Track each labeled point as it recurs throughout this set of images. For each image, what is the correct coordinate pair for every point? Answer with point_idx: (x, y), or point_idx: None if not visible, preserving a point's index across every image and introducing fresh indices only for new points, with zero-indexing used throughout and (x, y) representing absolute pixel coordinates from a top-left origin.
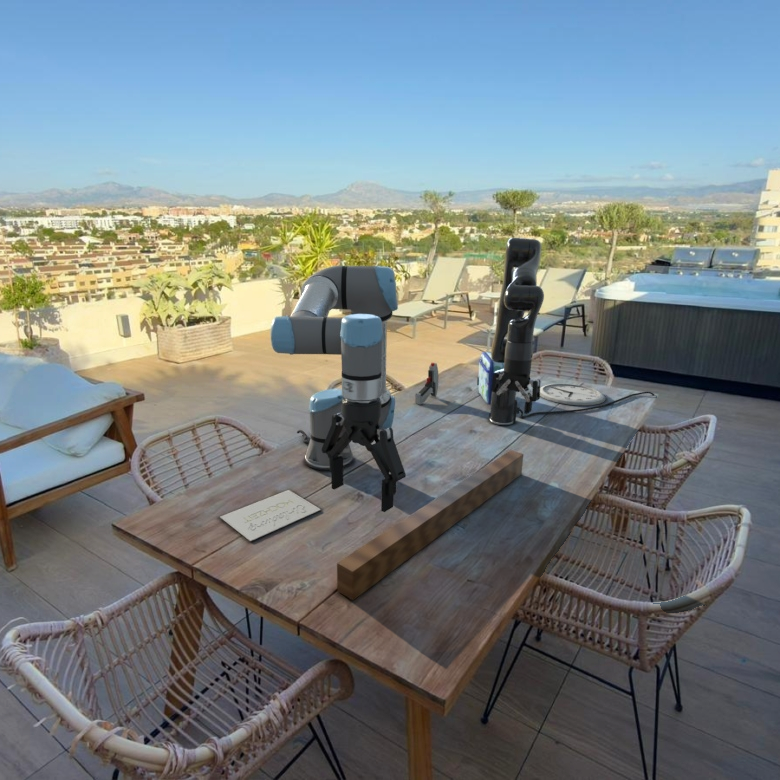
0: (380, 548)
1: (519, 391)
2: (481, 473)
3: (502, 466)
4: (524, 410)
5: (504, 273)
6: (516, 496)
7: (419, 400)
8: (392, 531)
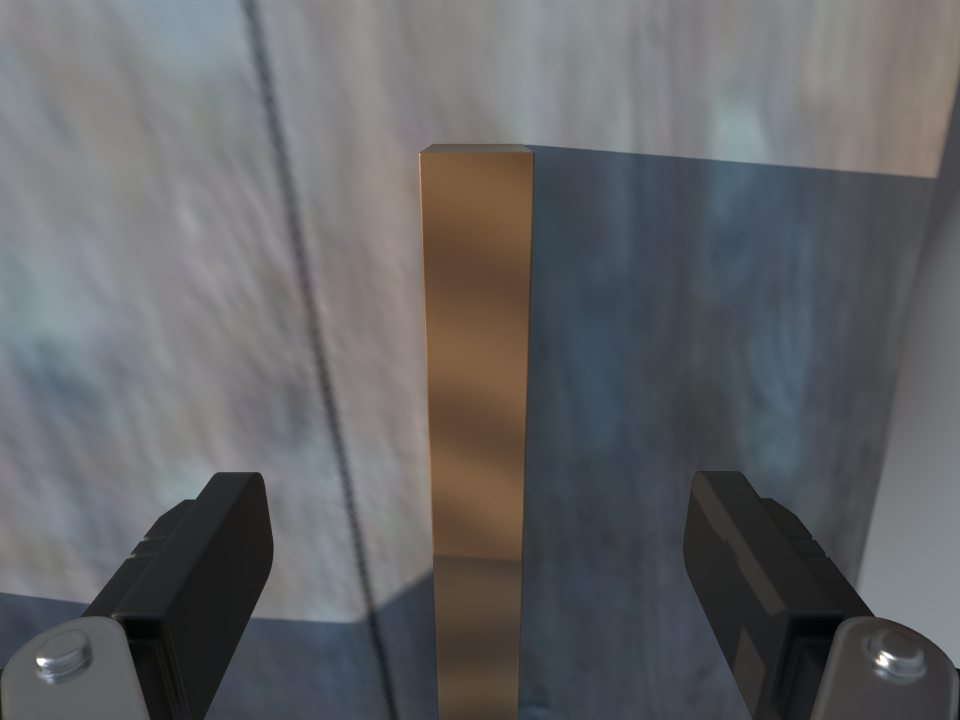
0: None
1: None
2: (464, 579)
3: (512, 437)
4: (704, 604)
5: None
6: (609, 401)
7: None
8: None
